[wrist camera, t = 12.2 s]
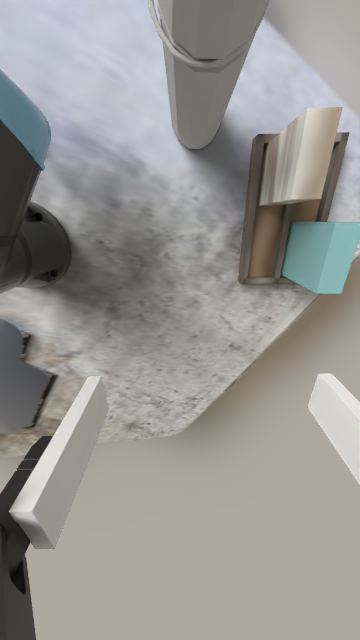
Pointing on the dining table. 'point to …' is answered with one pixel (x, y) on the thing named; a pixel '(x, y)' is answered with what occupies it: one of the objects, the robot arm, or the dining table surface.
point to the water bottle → (204, 59)
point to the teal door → (320, 254)
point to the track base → (288, 189)
